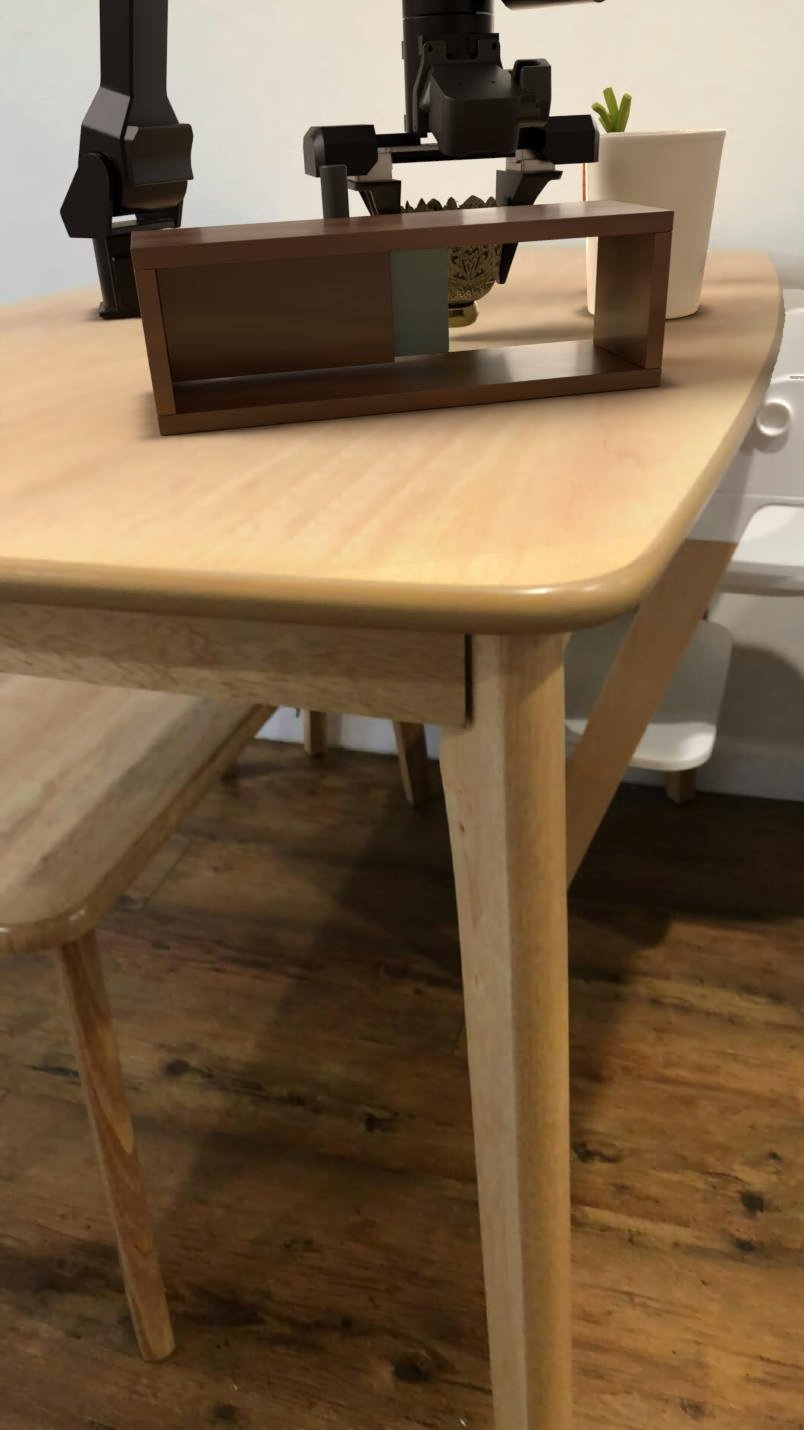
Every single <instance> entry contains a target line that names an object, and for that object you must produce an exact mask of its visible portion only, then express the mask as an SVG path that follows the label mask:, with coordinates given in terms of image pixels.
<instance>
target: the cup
mask: <svg viewBox="0 0 804 1430" xmlns="http://www.w3.org/2000/svg"><path fill="white" fill-rule="evenodd" d="M507 202H508V199H507V197H506V199H505V200H504V201H503V202H502V204H501V206H500V207H507ZM493 207H498V205H497V204H496V200H495V197H494V196H492V195H491V196H489V197H488V198H487V199H486V201H484V200H483V199H482V198H481V197H478V196H476V195H474V194H472V195H470V196H469V197H467V198H466V199H465V201H464V202H463V203H462V204H459V200H456V199H455V198H453V196H449V197H448V198H447V201H446V204H444V205H442V203H441V202H440V200H438V199H436V198H435V197H433V198H431V199H430V200H429V201H427V203H426V202H425V199H424V198H423V197H421V198H420V199H419V200H418V203H417V205H416V207H413V206H412V205H410V202H409V200H408V199H407V200H406V201H405V206H403V205H401V214H403V213H418V212H433V211H448V210H463V209H478V208H493ZM502 246H503V244H490V245H477V246H463V247H449V248H447V263H448V315H449V329H458V328H459V329H460V328H464V327H469V326H472V325H474V324H475V323H476V322H477V320H478V318H479V315H480V309H479V305H478V303H477V302H476V301H479V300H480V299H482V298H484V297H485V296H487V295H488V294H489V292H491V290H492V288H493V287H494V285H495V283H496V278H497V275H498V271H499V266H500V261H501V254H502Z"/></svg>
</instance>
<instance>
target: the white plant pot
mask: <svg viewBox="0 0 804 1430" xmlns="http://www.w3.org/2000/svg"><path fill="white" fill-rule="evenodd" d="M726 136H727V130H726V129H724V128H688V129H686V128H685V129H682V128H681V129H658V130H657V129H656V130H633V131H624V132H615V133H607V132H601V133H600V141H599V161H598V162H595V163H586V201H598V200H612V201H618V202H624V203H631V204H637V205H643V206H649V207H655V208H661V209H668V210H673V211H674V221H673V231H671V232H672V244H671V257H670V269H669V282H668V294H667V307H666V319H665V320H670V319H671V320H672V319H678V318H684V317H687V316H690V315H693V314H695V313H696V312H697V311H698V309H699V305H700V300H701V295H702V294H701V293H702V290H703V289H702V288H703V283H704V275H705V268H706V262H707V256H708V249H709V243H710V236H711V229H712V222H713V216H714V210H715V203H716V197H717V196H716V195H717V189H718V183H719V176H720V170H721V163H722V156H723V151H724V145H725V140H726ZM585 240H586V241H585V242H586V300H587V301H586V303H587V311H588V313H589V314H591V315H592V316H594V312H595V291H596V269H597V248H598V237H587V238H585Z"/></svg>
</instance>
